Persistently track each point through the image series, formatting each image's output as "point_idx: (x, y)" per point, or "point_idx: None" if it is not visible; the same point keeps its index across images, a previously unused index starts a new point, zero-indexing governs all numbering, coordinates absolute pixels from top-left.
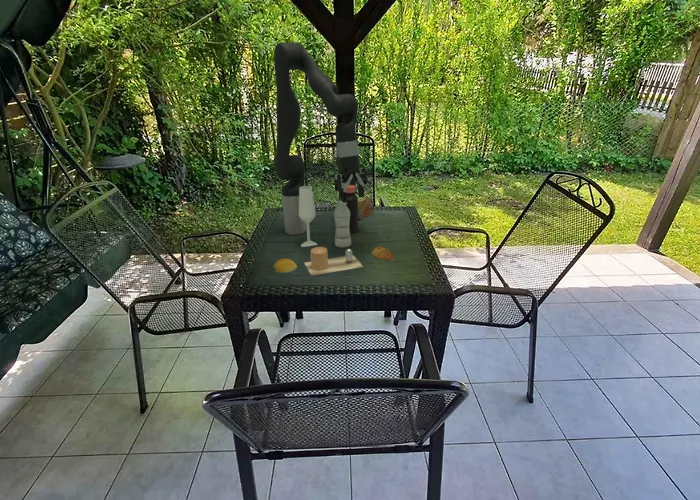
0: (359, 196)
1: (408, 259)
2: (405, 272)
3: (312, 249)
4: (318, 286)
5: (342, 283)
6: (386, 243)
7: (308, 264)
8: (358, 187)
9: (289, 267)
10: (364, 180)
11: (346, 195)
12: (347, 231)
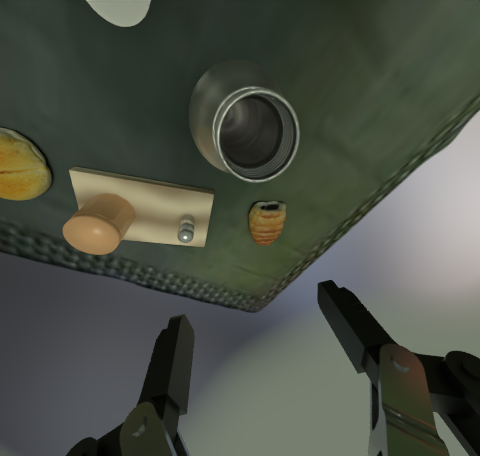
0: (319, 287)
1: (295, 240)
2: (257, 269)
3: (69, 225)
4: (102, 255)
5: (150, 261)
6: (329, 158)
7: (83, 186)
8: (361, 349)
9: (15, 198)
10: (459, 432)
11: (188, 381)
12: (237, 145)
